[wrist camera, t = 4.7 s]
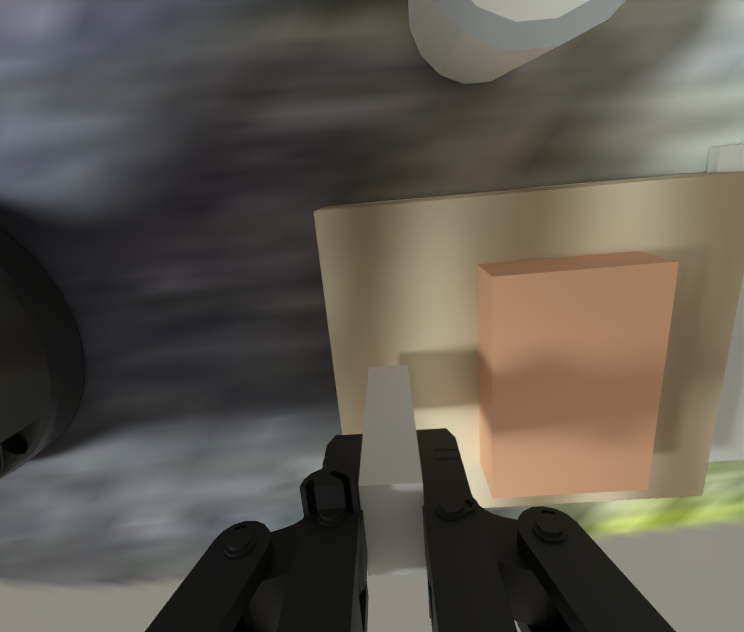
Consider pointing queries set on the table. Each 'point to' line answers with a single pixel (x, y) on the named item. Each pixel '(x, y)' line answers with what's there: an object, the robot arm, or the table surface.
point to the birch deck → (519, 243)
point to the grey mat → (740, 385)
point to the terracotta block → (571, 371)
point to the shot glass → (497, 32)
